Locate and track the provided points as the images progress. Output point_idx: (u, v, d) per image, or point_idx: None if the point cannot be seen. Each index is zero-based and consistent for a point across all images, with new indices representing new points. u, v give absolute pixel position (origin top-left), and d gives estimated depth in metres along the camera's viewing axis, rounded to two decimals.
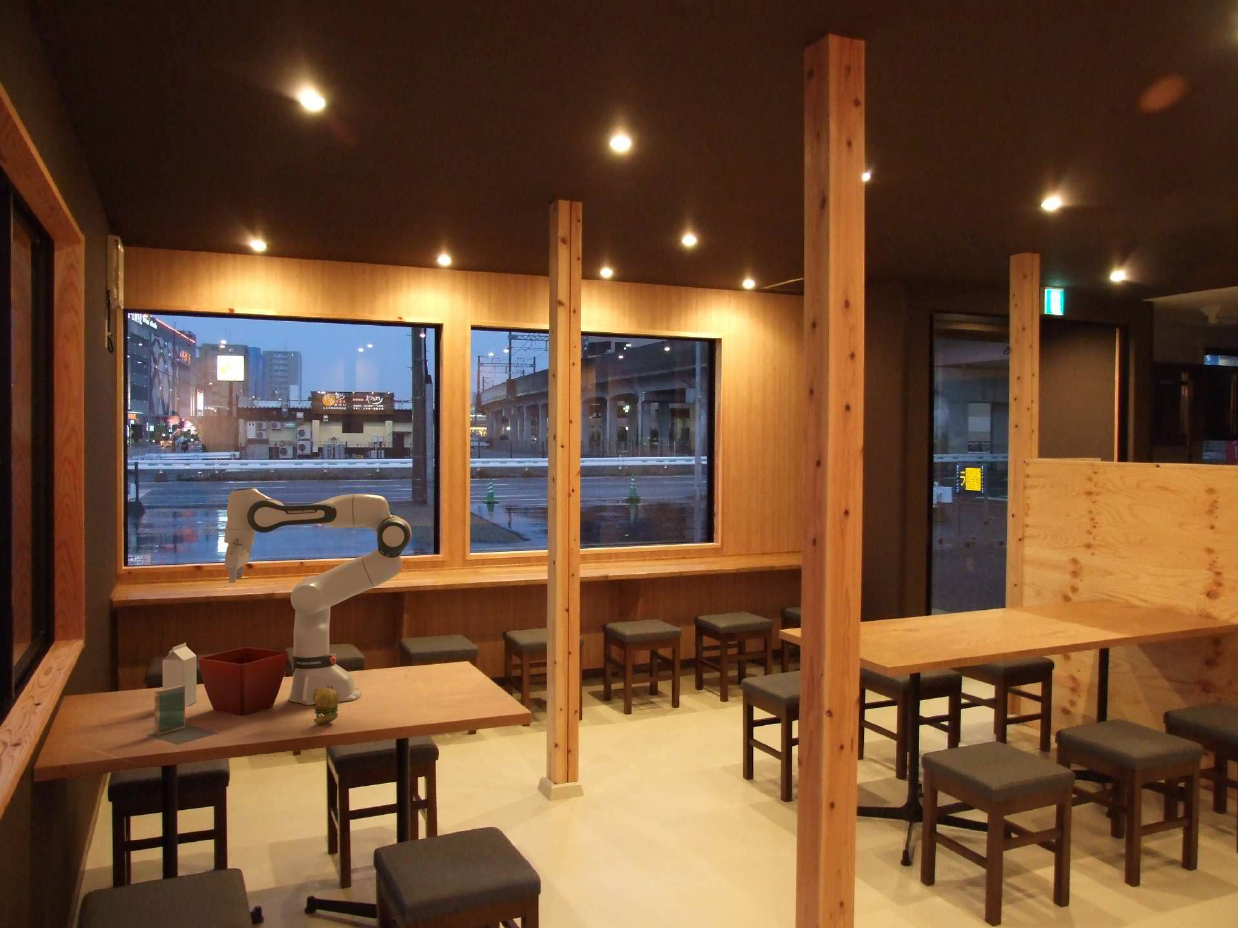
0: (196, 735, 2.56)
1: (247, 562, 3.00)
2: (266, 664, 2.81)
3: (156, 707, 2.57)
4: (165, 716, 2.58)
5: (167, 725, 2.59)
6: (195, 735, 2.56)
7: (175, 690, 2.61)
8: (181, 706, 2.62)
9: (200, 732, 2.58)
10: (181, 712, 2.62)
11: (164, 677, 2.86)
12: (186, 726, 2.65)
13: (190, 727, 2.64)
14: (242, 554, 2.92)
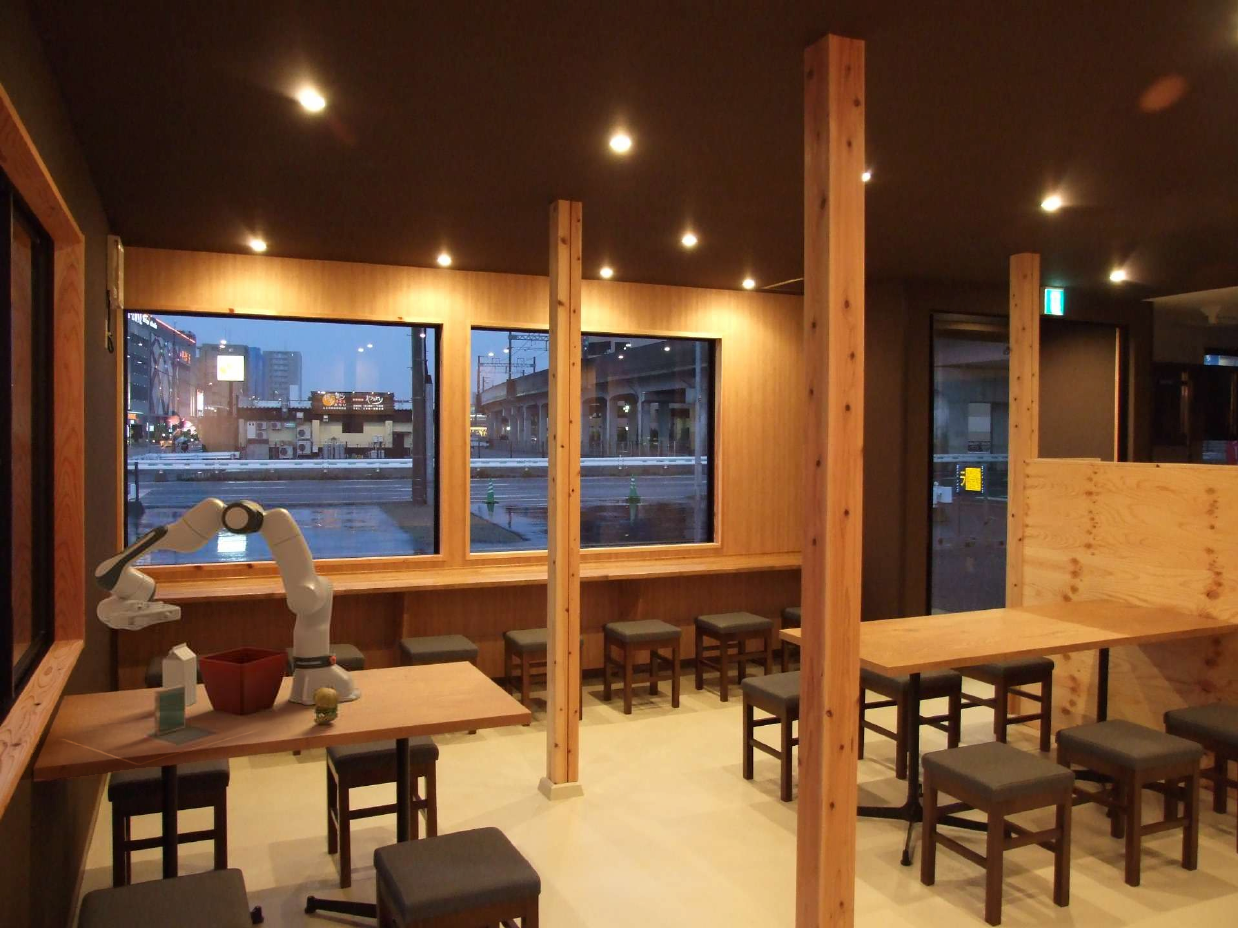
0: (196, 735, 2.56)
1: (173, 608, 2.81)
2: (266, 664, 2.81)
3: (156, 707, 2.57)
4: (165, 716, 2.58)
5: (167, 725, 2.59)
6: (195, 735, 2.56)
7: (175, 690, 2.61)
8: (181, 706, 2.62)
9: (200, 732, 2.58)
10: (181, 712, 2.62)
11: (164, 677, 2.86)
12: (186, 726, 2.65)
13: (190, 727, 2.64)
14: (140, 612, 2.77)
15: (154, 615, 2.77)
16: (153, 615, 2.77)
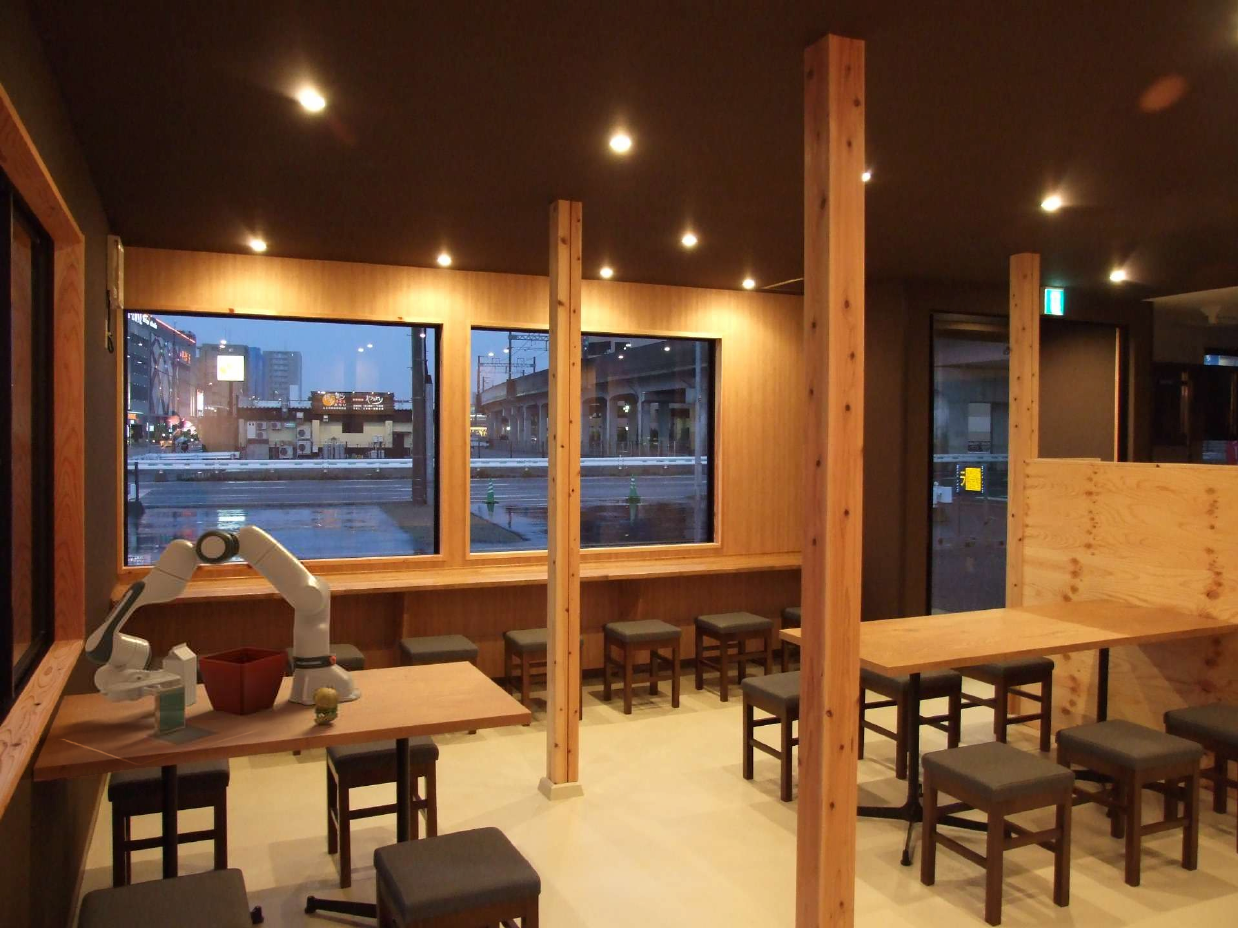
0: (196, 735, 2.56)
1: (173, 678, 2.73)
2: (266, 664, 2.81)
3: (156, 707, 2.57)
4: (165, 716, 2.58)
5: (167, 725, 2.59)
6: (195, 735, 2.56)
7: (175, 690, 2.61)
8: (181, 706, 2.62)
9: (200, 732, 2.58)
10: (181, 712, 2.62)
11: None
12: (186, 726, 2.65)
13: (190, 727, 2.64)
14: None
15: None
16: None
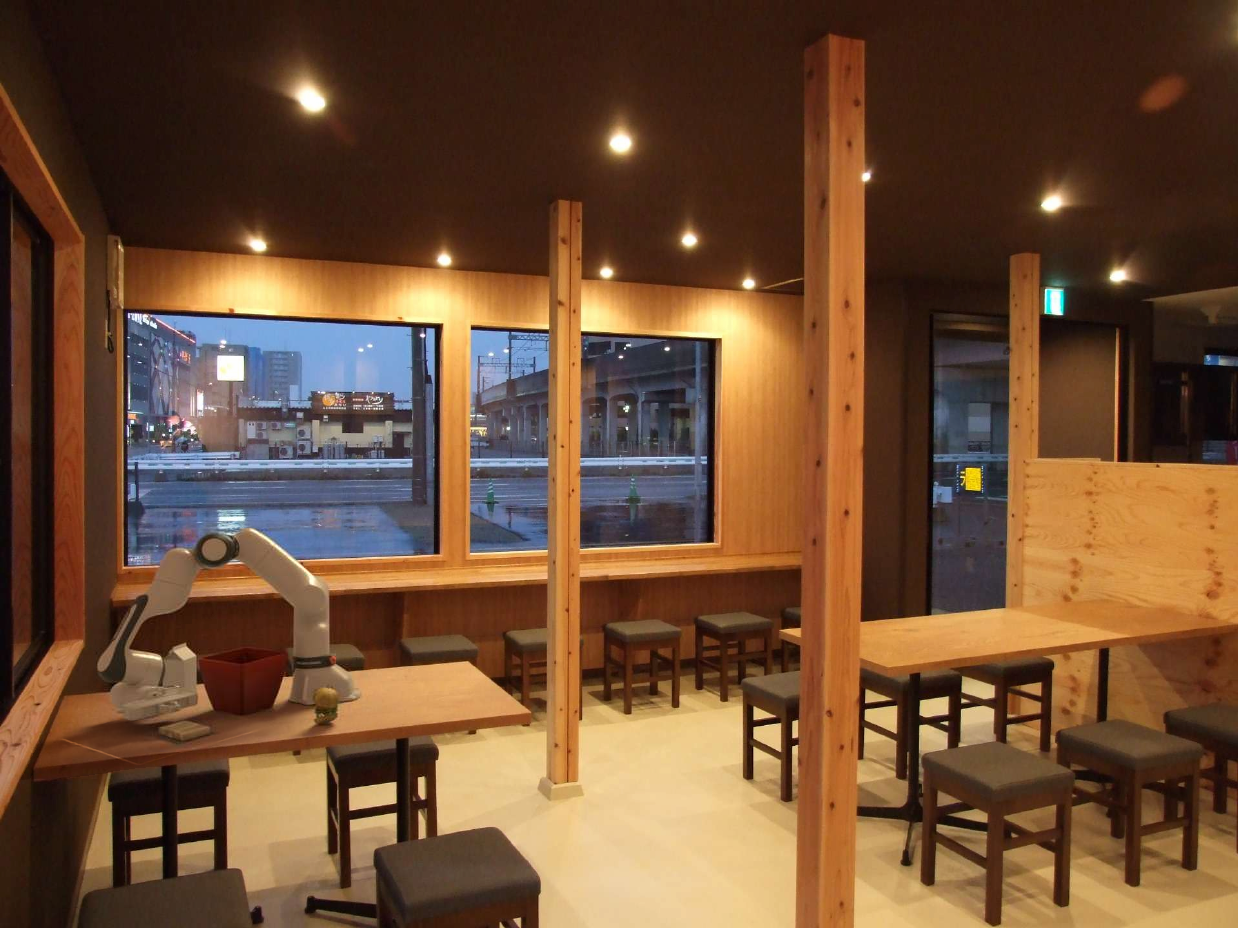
0: None
1: (190, 694, 2.68)
2: (266, 664, 2.81)
3: (173, 735, 2.53)
4: None
5: None
6: None
7: (199, 736, 2.55)
8: None
9: None
10: None
11: (164, 677, 2.86)
12: None
13: None
14: None
15: None
16: None
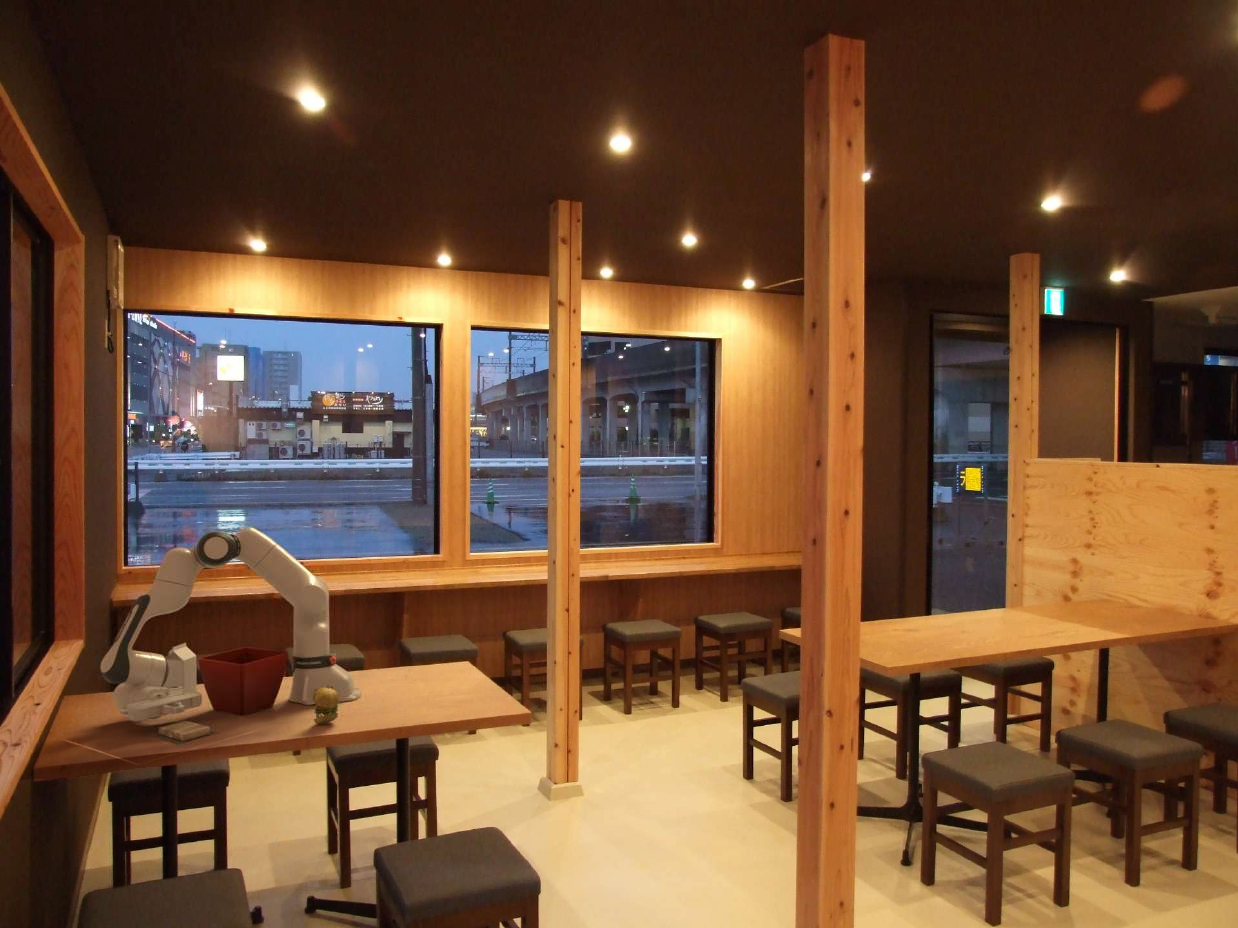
0: None
1: (193, 695, 2.67)
2: (266, 664, 2.81)
3: (173, 735, 2.53)
4: None
5: None
6: None
7: (199, 736, 2.55)
8: None
9: None
10: None
11: None
12: None
13: None
14: None
15: None
16: None
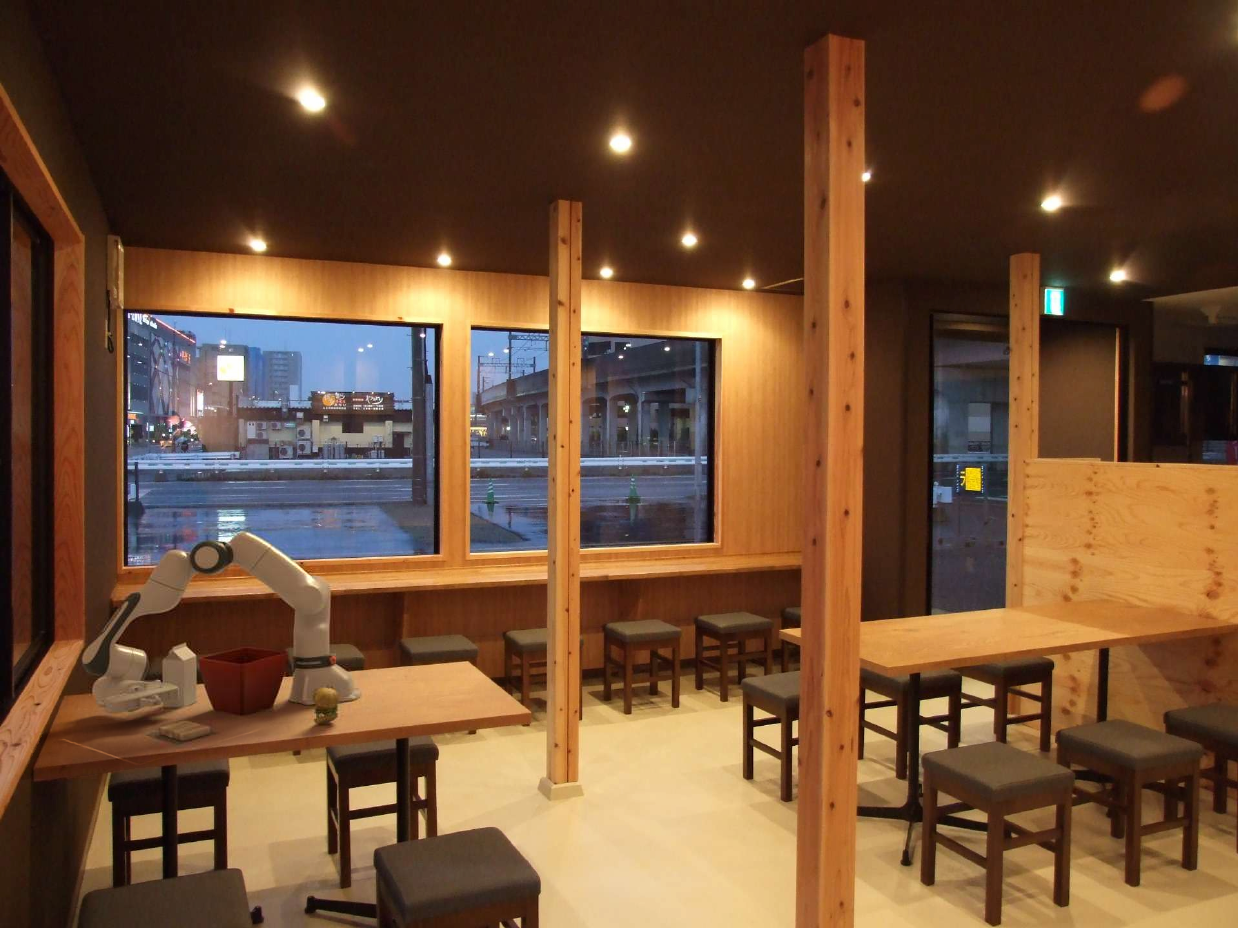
0: None
1: (171, 688, 2.74)
2: (266, 664, 2.81)
3: (173, 735, 2.53)
4: None
5: None
6: None
7: (199, 736, 2.55)
8: None
9: None
10: None
11: (164, 677, 2.86)
12: None
13: None
14: None
15: None
16: None
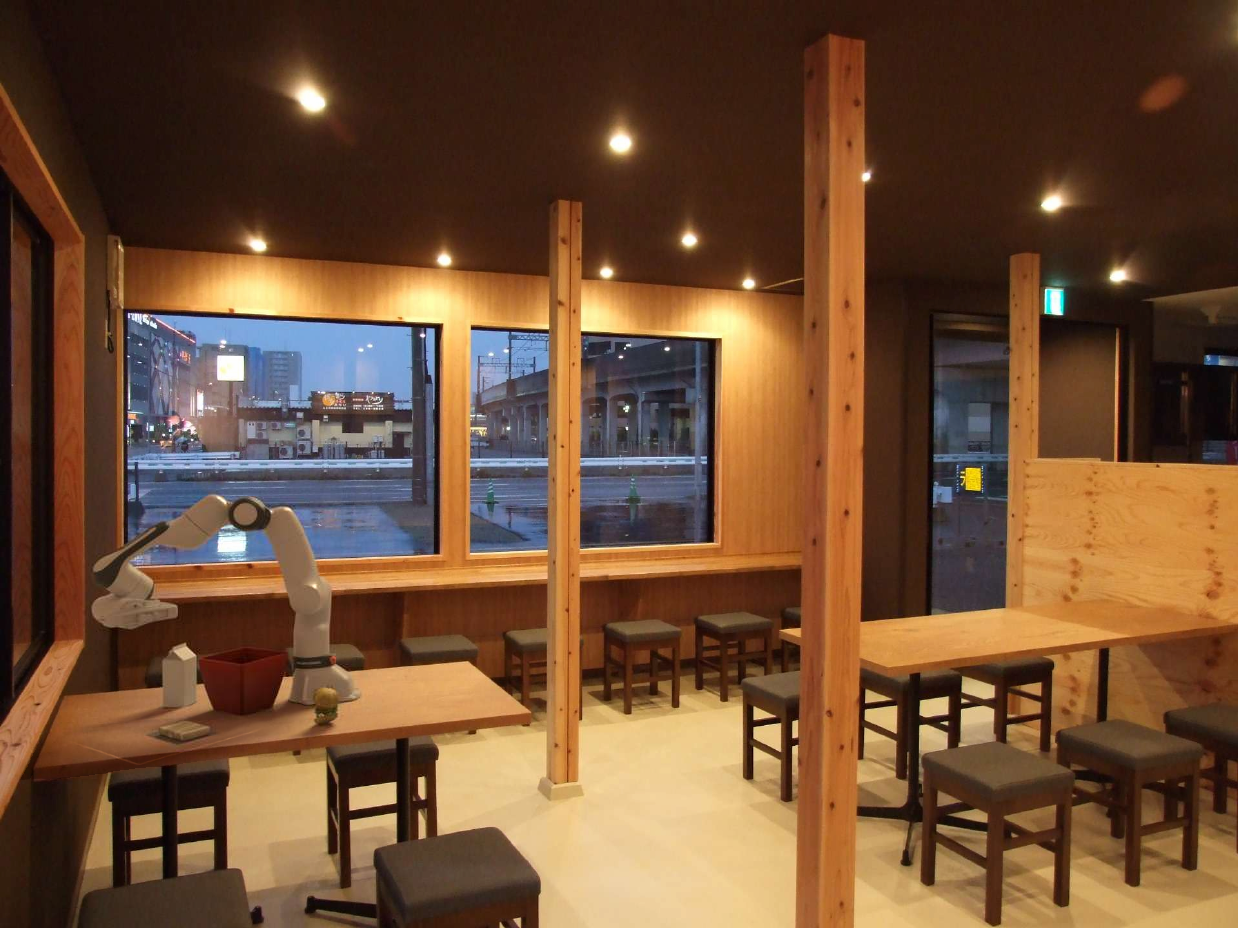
0: None
1: (169, 606, 2.74)
2: (266, 664, 2.81)
3: (173, 735, 2.53)
4: None
5: None
6: None
7: (199, 736, 2.55)
8: None
9: None
10: None
11: (164, 677, 2.86)
12: None
13: None
14: None
15: None
16: None
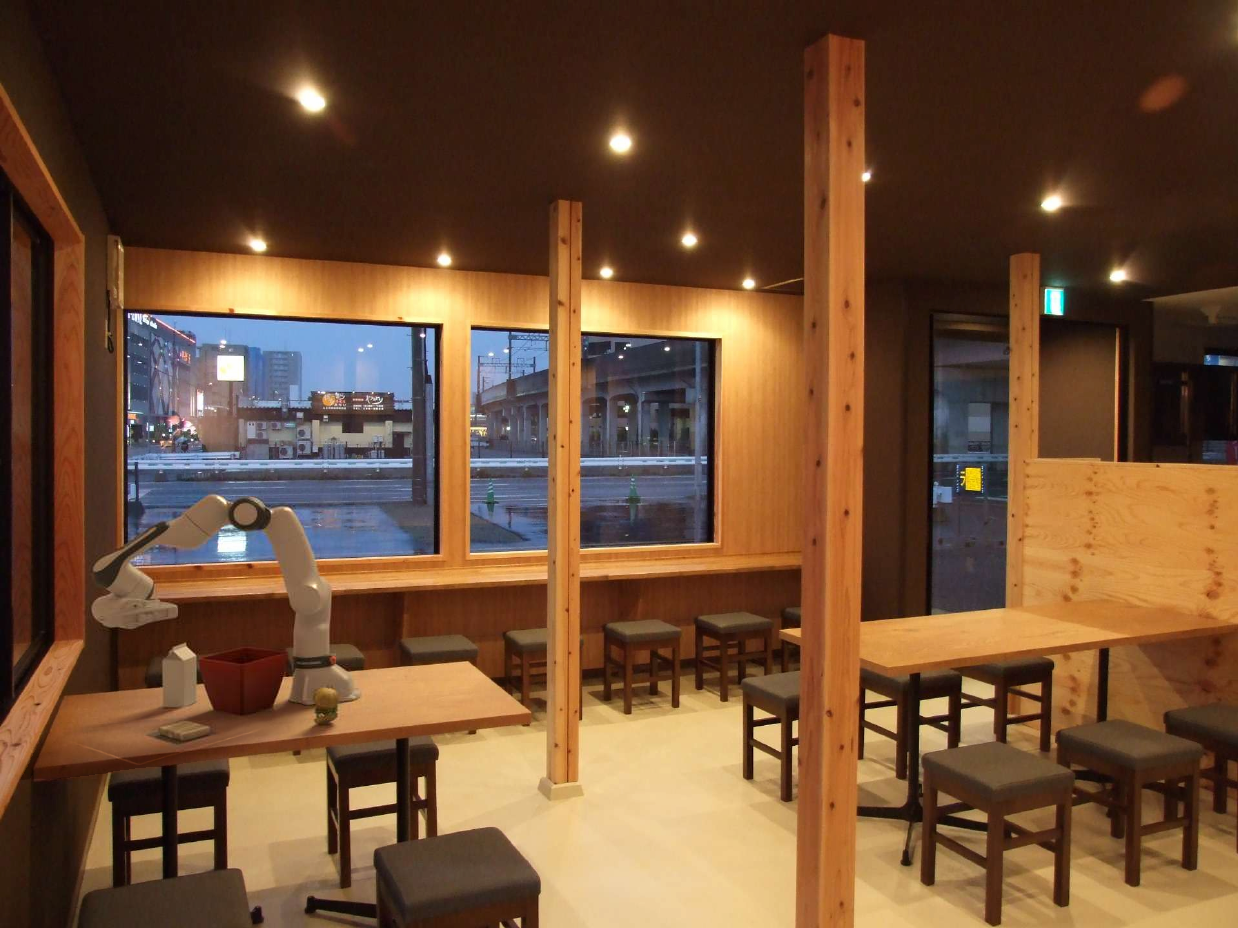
0: None
1: (169, 606, 2.74)
2: (266, 664, 2.81)
3: (173, 735, 2.53)
4: None
5: None
6: None
7: (199, 736, 2.55)
8: None
9: None
10: None
11: (164, 677, 2.86)
12: None
13: None
14: (136, 610, 2.69)
15: (150, 613, 2.69)
16: None
